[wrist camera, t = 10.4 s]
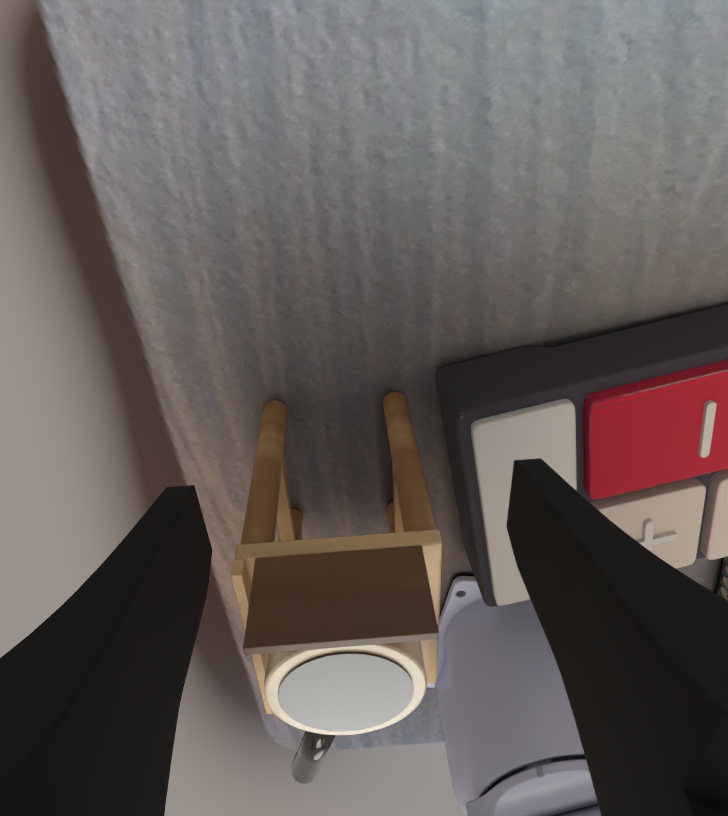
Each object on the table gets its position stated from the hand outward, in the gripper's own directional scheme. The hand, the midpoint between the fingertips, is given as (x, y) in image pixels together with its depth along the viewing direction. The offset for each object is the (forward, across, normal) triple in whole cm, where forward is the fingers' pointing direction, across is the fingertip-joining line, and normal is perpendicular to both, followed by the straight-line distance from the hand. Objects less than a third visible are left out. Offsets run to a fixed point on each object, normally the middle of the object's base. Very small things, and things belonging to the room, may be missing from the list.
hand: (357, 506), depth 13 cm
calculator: (+11, -12, +6) cm, 17 cm away
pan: (+2, +1, +8) cm, 8 cm away
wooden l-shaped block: (+2, +1, +7) cm, 7 cm away
